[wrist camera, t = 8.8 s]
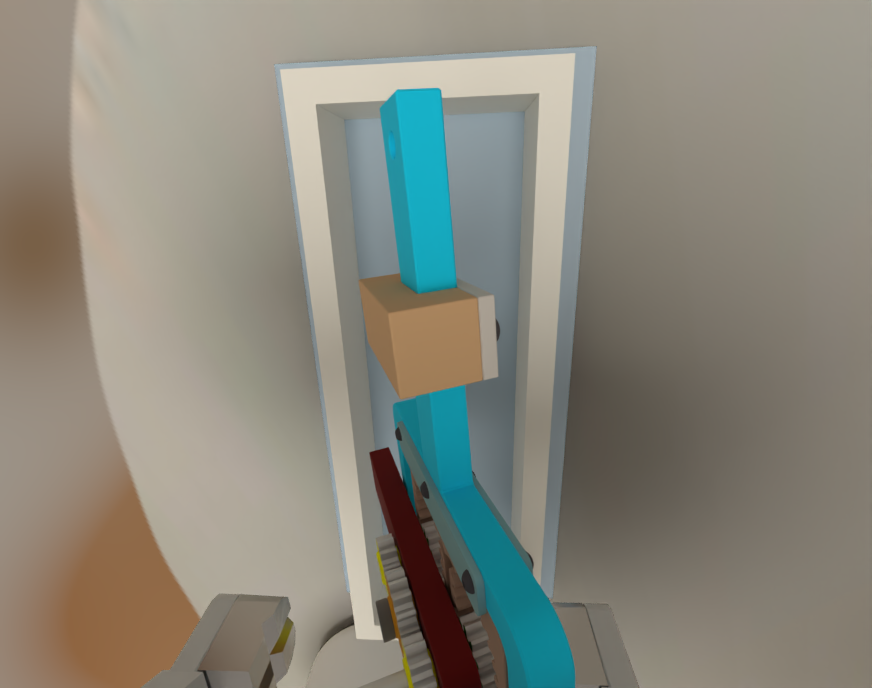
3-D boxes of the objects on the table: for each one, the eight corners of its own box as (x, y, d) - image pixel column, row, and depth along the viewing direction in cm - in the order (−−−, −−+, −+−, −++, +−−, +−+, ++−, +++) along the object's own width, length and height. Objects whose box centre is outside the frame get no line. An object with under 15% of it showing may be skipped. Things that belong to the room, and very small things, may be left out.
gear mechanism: (449, 656, 18) (586, 1043, 10) (320, 707, 17) (351, 1208, 9) (386, 140, 12) (645, -26, 3) (163, 156, 10) (-440, -61, 2)
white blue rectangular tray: (549, 583, 26) (566, 661, 22) (351, 577, 27) (329, 651, 22) (589, 53, 17) (631, 9, 12) (284, 70, 17) (226, 34, 13)
